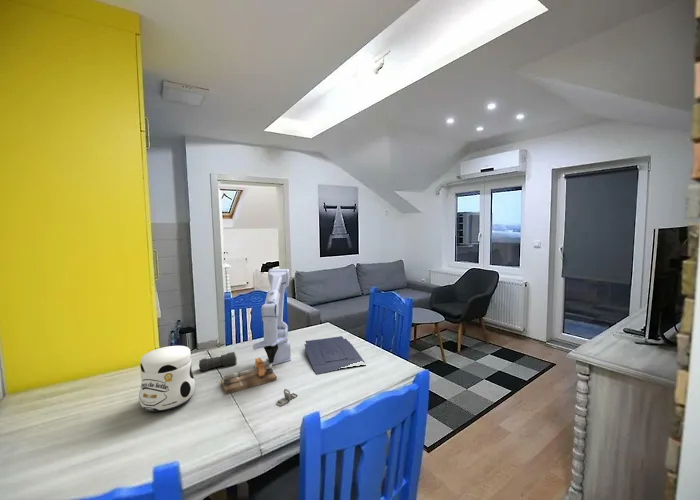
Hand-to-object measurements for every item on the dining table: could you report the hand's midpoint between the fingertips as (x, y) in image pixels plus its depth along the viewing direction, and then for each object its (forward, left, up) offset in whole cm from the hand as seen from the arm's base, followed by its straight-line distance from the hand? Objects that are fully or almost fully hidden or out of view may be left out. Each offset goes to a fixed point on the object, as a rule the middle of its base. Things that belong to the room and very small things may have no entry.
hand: (271, 362), depth 128 cm
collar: (+5, 0, -4) cm, 6 cm away
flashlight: (+18, -21, -6) cm, 28 cm away
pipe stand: (+9, 0, -6) cm, 11 cm away
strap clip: (+1, +21, -6) cm, 22 cm away
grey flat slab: (-31, -2, -6) cm, 32 cm away
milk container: (+38, -1, -6) cm, 38 cm away
